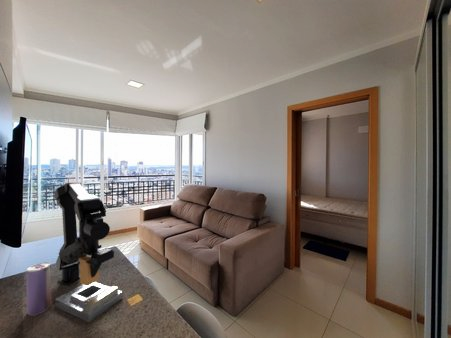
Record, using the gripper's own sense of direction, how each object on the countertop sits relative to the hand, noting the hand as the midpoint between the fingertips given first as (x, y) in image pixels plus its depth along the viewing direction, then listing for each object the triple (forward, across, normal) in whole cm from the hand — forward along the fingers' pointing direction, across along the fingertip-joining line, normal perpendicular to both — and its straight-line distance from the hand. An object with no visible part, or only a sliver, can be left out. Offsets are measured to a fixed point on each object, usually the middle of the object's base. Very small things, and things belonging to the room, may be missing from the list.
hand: (89, 275), depth 69 cm
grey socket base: (+10, 0, 0) cm, 10 cm away
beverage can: (+10, -12, -9) cm, 18 cm away
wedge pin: (+2, 0, 0) cm, 2 cm away
